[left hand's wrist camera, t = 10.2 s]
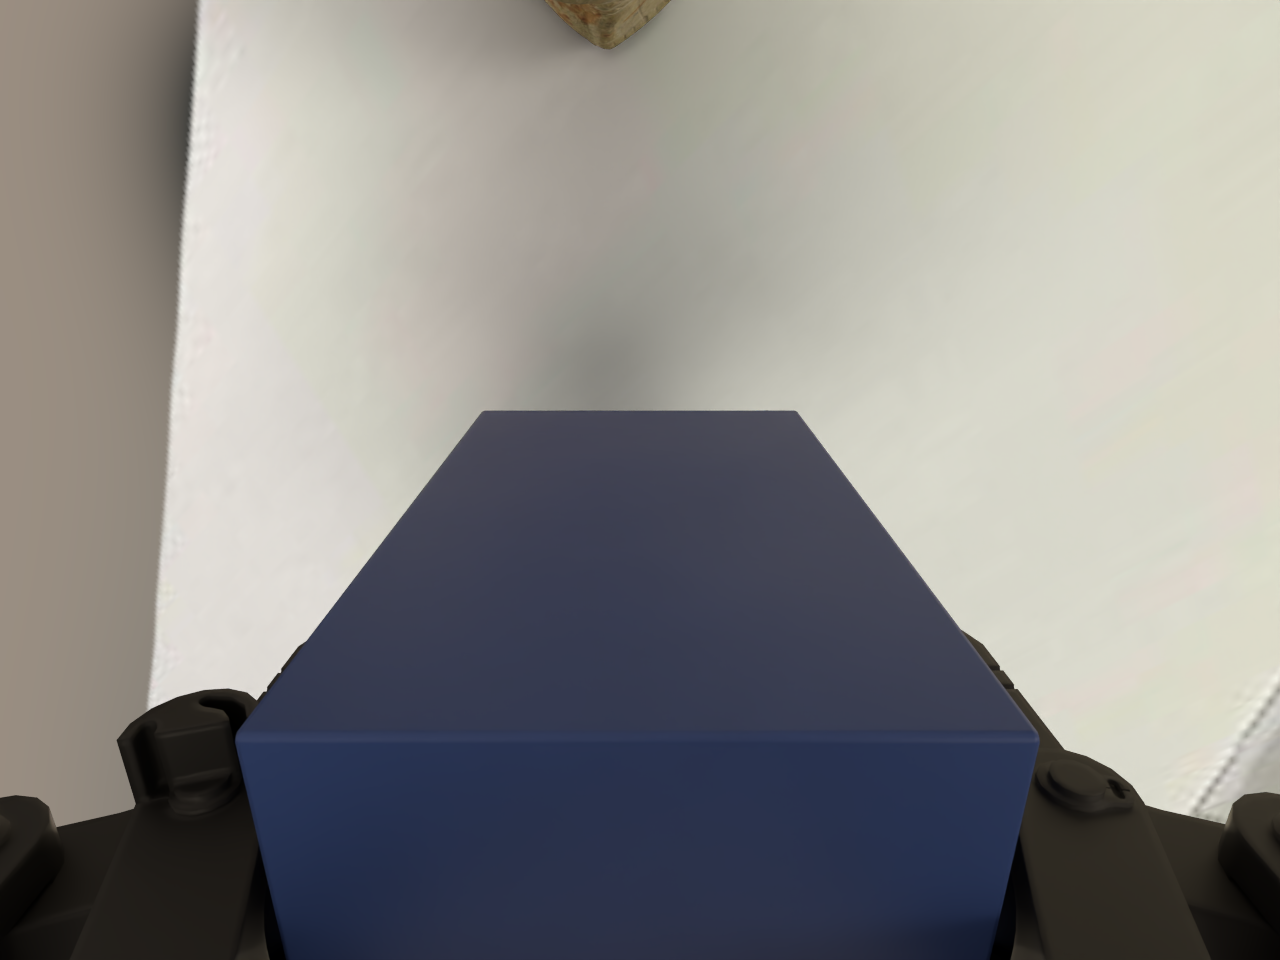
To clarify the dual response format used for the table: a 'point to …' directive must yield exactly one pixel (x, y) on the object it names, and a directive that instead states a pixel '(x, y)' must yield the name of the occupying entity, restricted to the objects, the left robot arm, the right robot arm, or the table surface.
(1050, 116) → the table surface
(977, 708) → the bar
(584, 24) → the sculpture
